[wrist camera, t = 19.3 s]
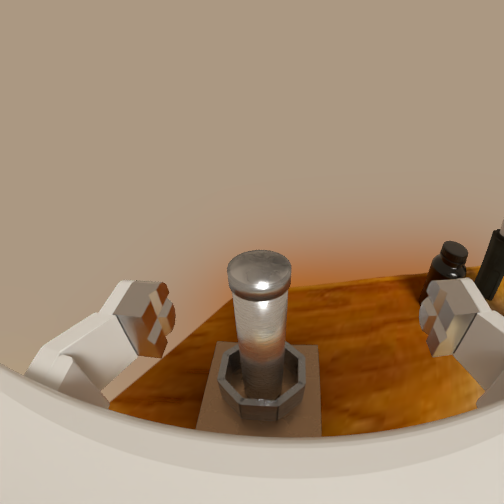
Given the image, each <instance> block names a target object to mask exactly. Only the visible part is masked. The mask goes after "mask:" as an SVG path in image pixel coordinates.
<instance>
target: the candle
mask: <svg viewBox="0 0 504 504" xmlns="http://www.w3.org/2000/svg"><path fill="white" fill-rule="evenodd" d="M503 276H504V220H503V223H502V227H501V229H497V230H494V231H493V234H492V237H491V240H490V243H489V246H488V249H487V251H486V254H485V257H484V260H483V262H482V265H481V267H480V270H479V272H478V275H477V277H476V280H475V282H474V283H475V285H476V286H477V288H478V289H479V291H480V293H481V294H482V296H483V297H484V298H486V299H488V300H492V299H493V297H494V295H495V293H496V291H497V289H498V287H499V285H500V283H501V281H502V278H503Z"/></svg>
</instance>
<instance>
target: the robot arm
mask: <svg viewBox="0 0 504 504" xmlns="http://www.w3.org/2000/svg"><path fill="white" fill-rule="evenodd" d="M168 294H169V291H168V288H167V285H166V284H165V283H163V282H152V281H137V280H136V281H134V280H122V281H120V282H119V283H118V285H117V286H116V288H115V289H114V291H113V292H112V293H111V295H110V296H109V298H108V299H107V301H106V302H105V304H104V305H103V307H102V308H101V310H100V311H99V313H93V314H92V315H90V316H89V317H87V318H85V319H84V320H83V321H81V322H79V323H78V324H76V325H74V326H73V327H71V328H70V329H68V330H67V331H65V332H63V333H62V334H60V335H59V336H57V337H56V338H54V339H53V340H51V341H49V342H48V343H46V344H45V345H43V346H42V347H41V349H40V350H39V352H38V353H37V355H36V356H35V358H34V360H33V361H32V363H31V365H30V366H29V368H28V370H27V371H26V373H25V375H24V376H23V375H21V374H19V373H18V372H16V371H14V370H12V369H10V368H8V367H6V366H5V365H3V364H1V363H0V504H504V316H502V315H501V314H499V313H498V312H496V311H492V310H491V309H490V307H489V305H488V304H487V302H486V300H485V299H484V297H483V296H482V294H481V293H480V291H479V289H478V288H477V286H476V285H475V283H474V282H473V280H471V279H470V278H460V279H451V280H435V281H431V282H430V284H429V285H428V288H427V294H428V297H427V298H426V299H425V300H424V301H423V302H422V304H421V307H420V311H419V321H420V325H421V328H422V331H424V332H425V333H426V334H427V335H428V337H427V340H426V342H427V344H428V347H429V350H430V353H431V355H432V357H437V356H444V355H451V354H453V356H454V357H455V358H456V359H457V360H458V361H459V362H460V363H461V365H462V366H463V367H464V368H465V369H466V370H467V371H468V372H469V373H470V374H471V375H472V376H473V378H474V379H475V380H476V381H477V382H478V383H479V384H480V385H481V387H482V388H483V389H484V390H485V393H484V394H483V395H482V396H481V397H480V398H479V399H478V400H477V402H476V405H477V408H478V409H475V410H472V411H469V412H465V413H462V414H459V415H455V416H452V417H448V418H445V419H441V420H437V421H433V422H429V423H424V424H420V425H415V426H410V427H405V428H399V429H393V430H387V431H380V432H373V433H365V434H355V435H344V436H330V437H260V436H245V435H233V434H224V433H215V432H208V431H201V430H194V429H188V428H182V427H177V426H172V425H167V424H162V423H157V422H153V421H149V420H144V419H140V418H136V417H133V416H129V415H125V414H122V413H118V412H115V411H112V410H108V407H109V405H110V404H109V401H108V400H107V399H106V398H105V397H104V396H103V394H102V393H101V392H100V391H101V390H102V389H103V388H104V387H106V386H107V385H108V384H109V383H110V382H111V381H112V380H113V379H114V378H115V377H116V376H118V375H119V374H120V373H121V372H122V371H123V370H124V369H125V368H126V367H127V366H129V364H131V363H132V362H133V361H134V360H135V359H136V358H137V357H138V356H146V357H155V358H162V355H163V353H164V350H165V348H166V345H167V343H168V342H167V339H166V337H165V336H167V335H168V334H169V333H170V332H172V330H173V327H174V325H175V308H174V306H173V303H172V302H171V301H170V300H169V299H168V298H167V296H168ZM137 355H138V356H137Z"/></svg>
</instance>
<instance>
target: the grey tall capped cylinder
mask: <svg viewBox="0 0 504 504" xmlns="http://www.w3.org/2000/svg"><path fill="white" fill-rule="evenodd" d="M227 273H228V281H229V287H230V289H231V291H232V294H233V303H234V311H235V320H236V328H237V336H238V344H239V352H240V360H241V368H242V375H243V383H244V390H245V393H246V395H247V396H248V397H249V398H250V399H263V400H274V399H276V398H277V397H278V396H279V394H280V393H281V390H282V381H283V367H284V352H285V336H286V318H287V298H288V289H289V287H290V284H291V264H290V262H289V260H288V259H287V258H286V257H285V256H283V255H281V254H279V253H276V252H273V251H267V250H254V251H248V252H244V253H242V254H239V255H237V256H236V257H234V258H233V259H232V260H231V261H230V263H229V264H228V267H227Z"/></svg>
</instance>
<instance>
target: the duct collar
mask: <svg viewBox="0 0 504 504" xmlns="http://www.w3.org/2000/svg"><path fill="white" fill-rule="evenodd" d="M195 430H201V431H208V432H215V433H224V434H233V435H245V436H260V437H321V398H320V375H319V357H318V345H290V344H289V343H288V342H286V341H285V352H284V367H283V381H282V390H281V393H280V394H279V396H278V397H277V398H276V399H274V400H263V399H250V398H249V397H248V396H247V395H246V393H245V390H244V383H243V375H242V368H241V360H240V352H239V344H238V343H237V342H223V341H217V344H216V348H215V352H214V356H213V360H212V364H211V368H210V372H209V376H208V380H207V384H206V388H205V392H204V396H203V400H202V405H201V409H200V413H199V417H198V421H197V425H196V429H195Z"/></svg>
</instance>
